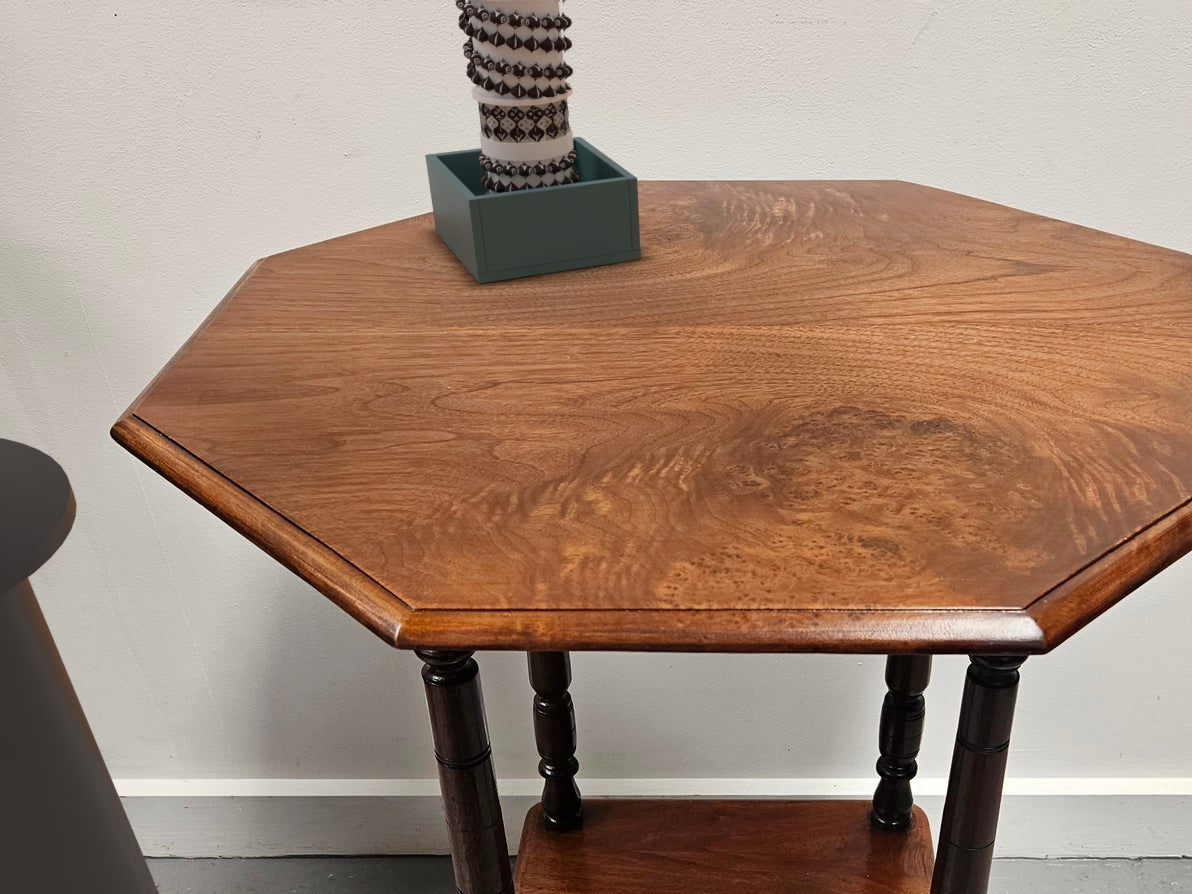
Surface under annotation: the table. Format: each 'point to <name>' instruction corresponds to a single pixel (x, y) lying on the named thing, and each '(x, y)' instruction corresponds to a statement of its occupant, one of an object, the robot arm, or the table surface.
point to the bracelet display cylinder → (520, 92)
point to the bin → (535, 217)
